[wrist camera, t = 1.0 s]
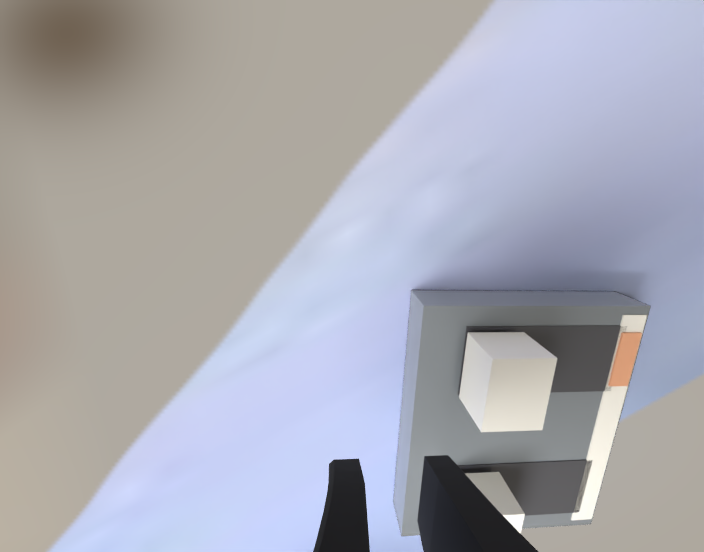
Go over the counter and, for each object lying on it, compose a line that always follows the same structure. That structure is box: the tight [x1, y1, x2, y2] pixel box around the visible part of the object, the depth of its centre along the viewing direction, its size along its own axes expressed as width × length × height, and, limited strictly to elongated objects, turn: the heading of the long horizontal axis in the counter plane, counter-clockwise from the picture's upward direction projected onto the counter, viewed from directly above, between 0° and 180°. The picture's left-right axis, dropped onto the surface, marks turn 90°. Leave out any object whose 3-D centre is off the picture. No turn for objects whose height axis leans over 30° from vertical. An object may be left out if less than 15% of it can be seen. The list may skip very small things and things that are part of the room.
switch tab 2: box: [465, 472, 525, 534], centre depth 16 cm, size 3×2×2 cm
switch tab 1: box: [459, 332, 557, 432], centre depth 15 cm, size 3×2×2 cm
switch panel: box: [393, 290, 650, 536], centre depth 18 cm, size 12×10×2 cm
